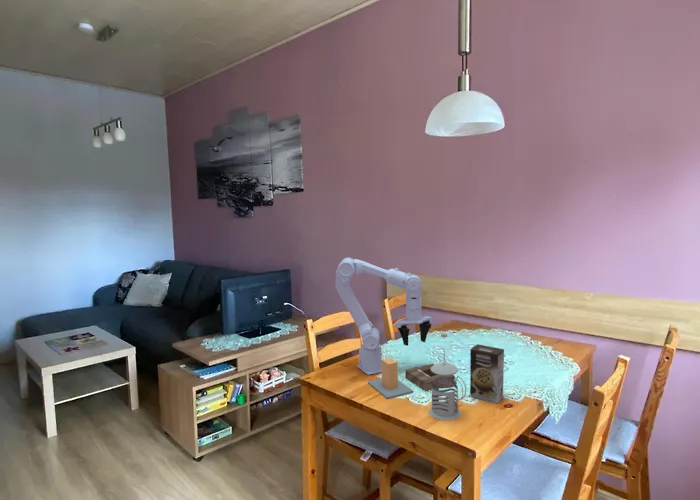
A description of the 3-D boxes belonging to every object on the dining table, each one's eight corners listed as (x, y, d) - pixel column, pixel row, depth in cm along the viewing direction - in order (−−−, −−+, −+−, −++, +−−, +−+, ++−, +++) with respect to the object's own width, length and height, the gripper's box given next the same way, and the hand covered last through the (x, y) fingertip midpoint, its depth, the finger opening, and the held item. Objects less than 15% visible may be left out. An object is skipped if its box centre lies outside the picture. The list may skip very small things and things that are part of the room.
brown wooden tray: (405, 377, 159) (405, 368, 159) (433, 371, 164) (432, 362, 164) (425, 391, 147) (425, 381, 147) (454, 384, 152) (454, 374, 152)
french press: (439, 401, 140) (438, 325, 137) (473, 413, 132) (472, 332, 129) (422, 413, 133) (420, 333, 130) (456, 426, 125) (455, 341, 122)
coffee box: (469, 397, 142) (469, 349, 140) (476, 389, 148) (476, 343, 146) (497, 404, 137) (497, 354, 135) (504, 396, 142) (504, 348, 140)
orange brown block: (382, 384, 153) (381, 359, 152) (390, 382, 154) (390, 357, 153) (389, 389, 148) (388, 364, 147) (398, 387, 150) (397, 362, 149)
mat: (367, 383, 156) (367, 381, 156) (392, 377, 160) (392, 375, 160) (387, 399, 143) (387, 397, 143) (413, 392, 147) (413, 390, 147)
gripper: (402, 313, 157) (403, 349, 158) (436, 307, 163) (436, 342, 164) (392, 308, 163) (393, 344, 165) (425, 303, 169) (426, 337, 171)
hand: (414, 343), depth 165 cm, fingers open, 7 cm apart
